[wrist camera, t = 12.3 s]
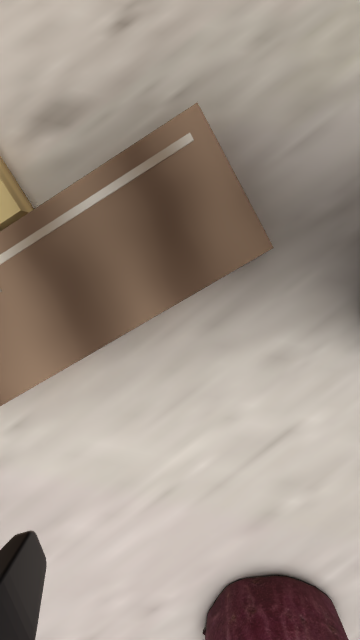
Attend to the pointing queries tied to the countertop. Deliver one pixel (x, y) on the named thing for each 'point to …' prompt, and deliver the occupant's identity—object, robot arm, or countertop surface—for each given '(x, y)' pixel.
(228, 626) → the vegetable
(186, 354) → the countertop surface
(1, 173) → the teal column with base
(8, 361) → the board
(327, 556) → the countertop surface
